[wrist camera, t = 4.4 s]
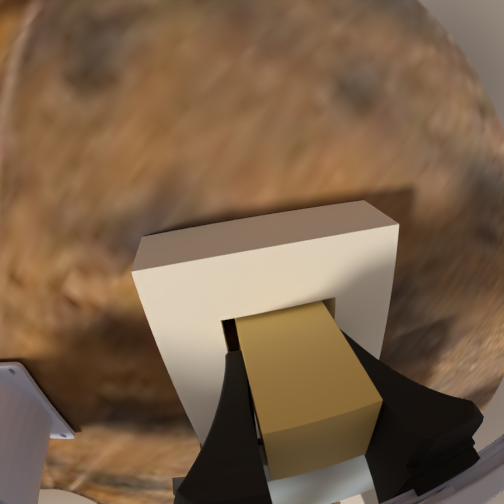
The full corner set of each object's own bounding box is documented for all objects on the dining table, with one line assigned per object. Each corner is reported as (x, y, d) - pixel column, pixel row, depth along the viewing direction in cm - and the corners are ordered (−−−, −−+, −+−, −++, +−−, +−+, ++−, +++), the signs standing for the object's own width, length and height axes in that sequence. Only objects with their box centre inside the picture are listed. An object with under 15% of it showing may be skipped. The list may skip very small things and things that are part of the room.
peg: (241, 354, 15) (271, 480, 9) (230, 296, 14) (262, 434, 8) (310, 339, 16) (365, 454, 9) (308, 281, 14) (382, 399, 8)
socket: (199, 408, 19) (203, 447, 16) (141, 236, 13) (131, 271, 11) (349, 375, 20) (367, 408, 17) (364, 200, 14) (399, 224, 12)
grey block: (202, 459, 22) (211, 529, 16) (170, 398, 18) (173, 494, 12) (356, 424, 23) (385, 486, 17) (372, 354, 19) (420, 431, 13)
